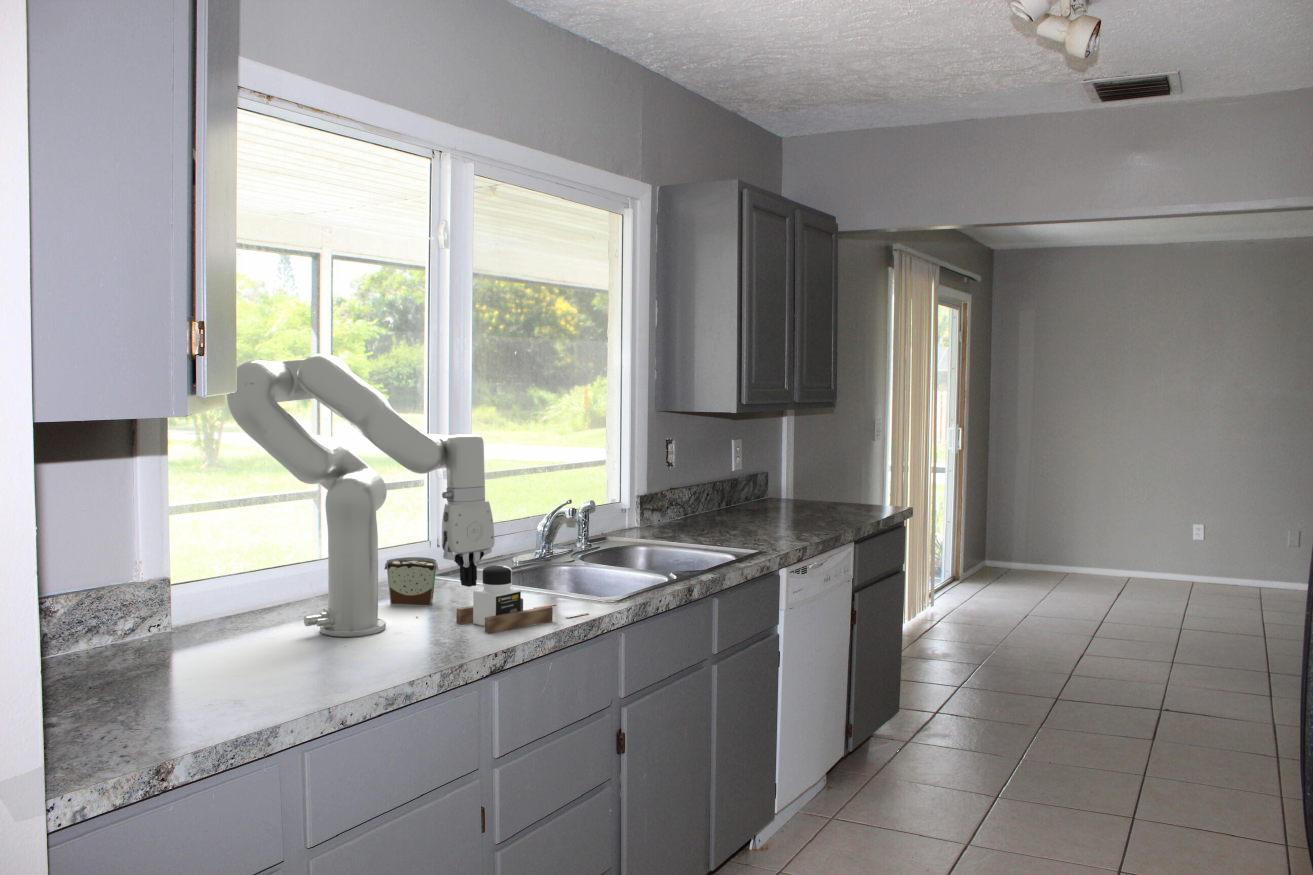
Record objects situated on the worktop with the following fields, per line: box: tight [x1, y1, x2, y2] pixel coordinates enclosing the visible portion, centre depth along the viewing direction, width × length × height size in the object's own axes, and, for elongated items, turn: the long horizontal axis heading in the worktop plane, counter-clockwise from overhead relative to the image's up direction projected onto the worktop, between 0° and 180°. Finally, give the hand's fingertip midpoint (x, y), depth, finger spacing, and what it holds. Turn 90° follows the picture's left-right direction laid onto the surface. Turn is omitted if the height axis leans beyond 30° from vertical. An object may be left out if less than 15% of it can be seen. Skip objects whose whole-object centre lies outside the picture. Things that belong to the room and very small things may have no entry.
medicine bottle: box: [472, 564, 522, 627], centre depth 199 cm, size 7×7×12 cm
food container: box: [384, 556, 440, 607], centre depth 217 cm, size 12×6×10 cm, turn 84°
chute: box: [455, 597, 554, 635], centre depth 200 cm, size 16×12×3 cm
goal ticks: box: [533, 603, 590, 619], centre depth 211 cm, size 6×12×1 cm, turn 44°
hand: (468, 585), depth 193 cm, fingers closed
